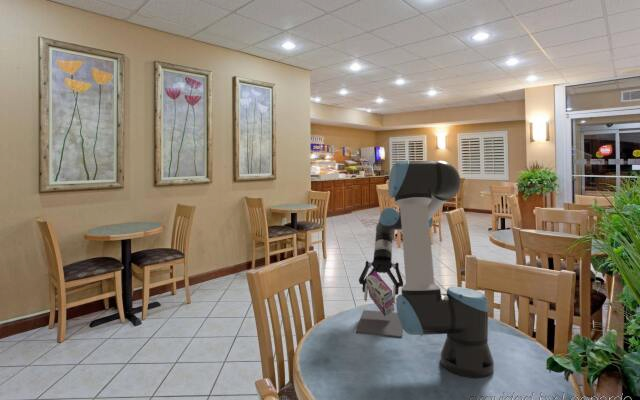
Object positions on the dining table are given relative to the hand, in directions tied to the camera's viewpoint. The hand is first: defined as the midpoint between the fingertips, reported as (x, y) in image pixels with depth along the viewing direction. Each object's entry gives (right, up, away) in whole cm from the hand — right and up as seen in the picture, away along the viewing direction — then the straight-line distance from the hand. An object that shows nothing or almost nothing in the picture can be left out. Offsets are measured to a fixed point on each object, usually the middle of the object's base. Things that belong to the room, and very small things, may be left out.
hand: (379, 300), depth 141 cm
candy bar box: (+2, -3, +8) cm, 9 cm away
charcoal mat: (+1, -9, +1) cm, 10 cm away
